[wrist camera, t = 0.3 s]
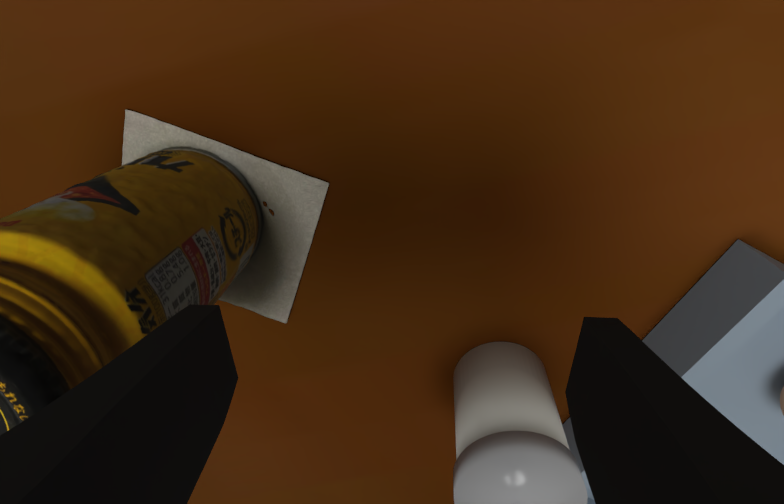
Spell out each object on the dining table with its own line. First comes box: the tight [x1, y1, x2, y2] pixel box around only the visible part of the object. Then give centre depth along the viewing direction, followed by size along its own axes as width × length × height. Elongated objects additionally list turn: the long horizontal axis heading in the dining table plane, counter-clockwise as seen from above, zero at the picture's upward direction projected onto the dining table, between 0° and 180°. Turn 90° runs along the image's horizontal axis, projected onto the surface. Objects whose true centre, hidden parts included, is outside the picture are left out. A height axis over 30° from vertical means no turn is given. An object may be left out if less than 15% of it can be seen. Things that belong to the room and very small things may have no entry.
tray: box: [562, 239, 784, 504], centre depth 22 cm, size 16×14×3 cm
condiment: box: [0, 110, 329, 435], centre depth 15 cm, size 7×8×12 cm
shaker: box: [453, 342, 588, 504], centre depth 20 cm, size 5×5×6 cm
